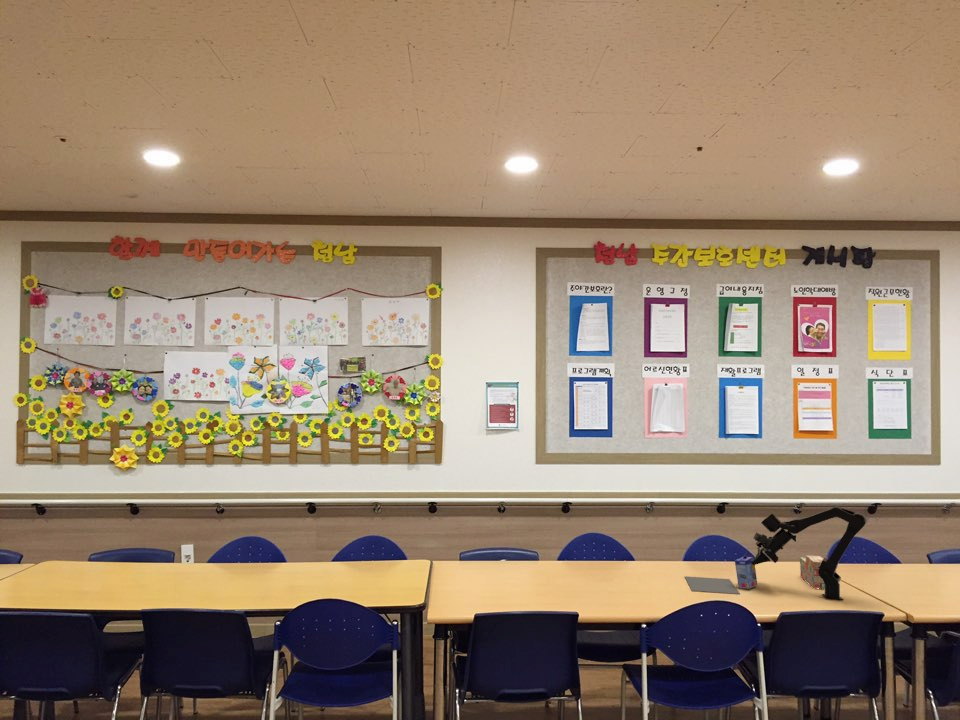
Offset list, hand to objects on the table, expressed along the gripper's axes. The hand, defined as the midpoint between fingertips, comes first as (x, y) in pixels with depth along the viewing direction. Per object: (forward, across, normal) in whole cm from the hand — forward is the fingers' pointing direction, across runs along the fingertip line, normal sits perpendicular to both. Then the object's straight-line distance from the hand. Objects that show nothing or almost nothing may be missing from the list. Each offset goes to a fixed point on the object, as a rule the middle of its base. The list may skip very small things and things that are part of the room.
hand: (752, 564), depth 297 cm
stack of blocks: (-14, -16, +29) cm, 35 cm away
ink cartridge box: (+8, 0, +6) cm, 10 cm away
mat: (+20, 0, -5) cm, 21 cm away
